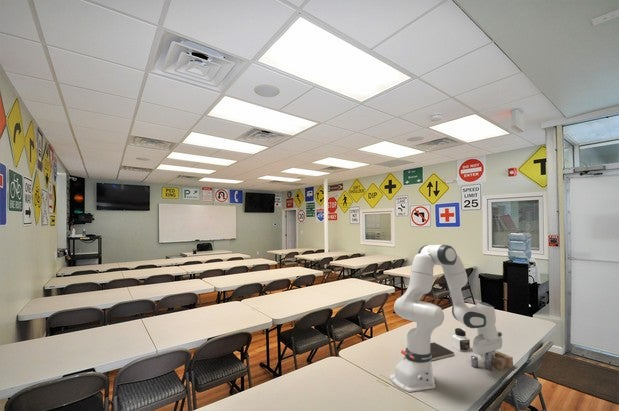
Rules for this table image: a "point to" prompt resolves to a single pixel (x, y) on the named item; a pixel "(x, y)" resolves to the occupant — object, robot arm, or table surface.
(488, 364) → the long pin
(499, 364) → the hole block
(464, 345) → the medicine bottle
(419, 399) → the table surface
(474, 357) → the short pin
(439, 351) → the hardcover book
